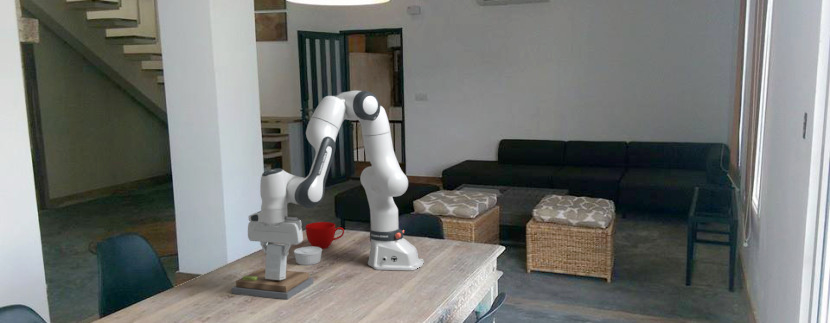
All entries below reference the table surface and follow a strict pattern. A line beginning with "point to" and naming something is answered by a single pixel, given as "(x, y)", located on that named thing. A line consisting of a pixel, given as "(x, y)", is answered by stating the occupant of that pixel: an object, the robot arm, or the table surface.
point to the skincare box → (275, 262)
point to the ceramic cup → (321, 234)
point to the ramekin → (308, 255)
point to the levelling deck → (272, 281)
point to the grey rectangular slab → (273, 293)
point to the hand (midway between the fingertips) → (276, 254)
